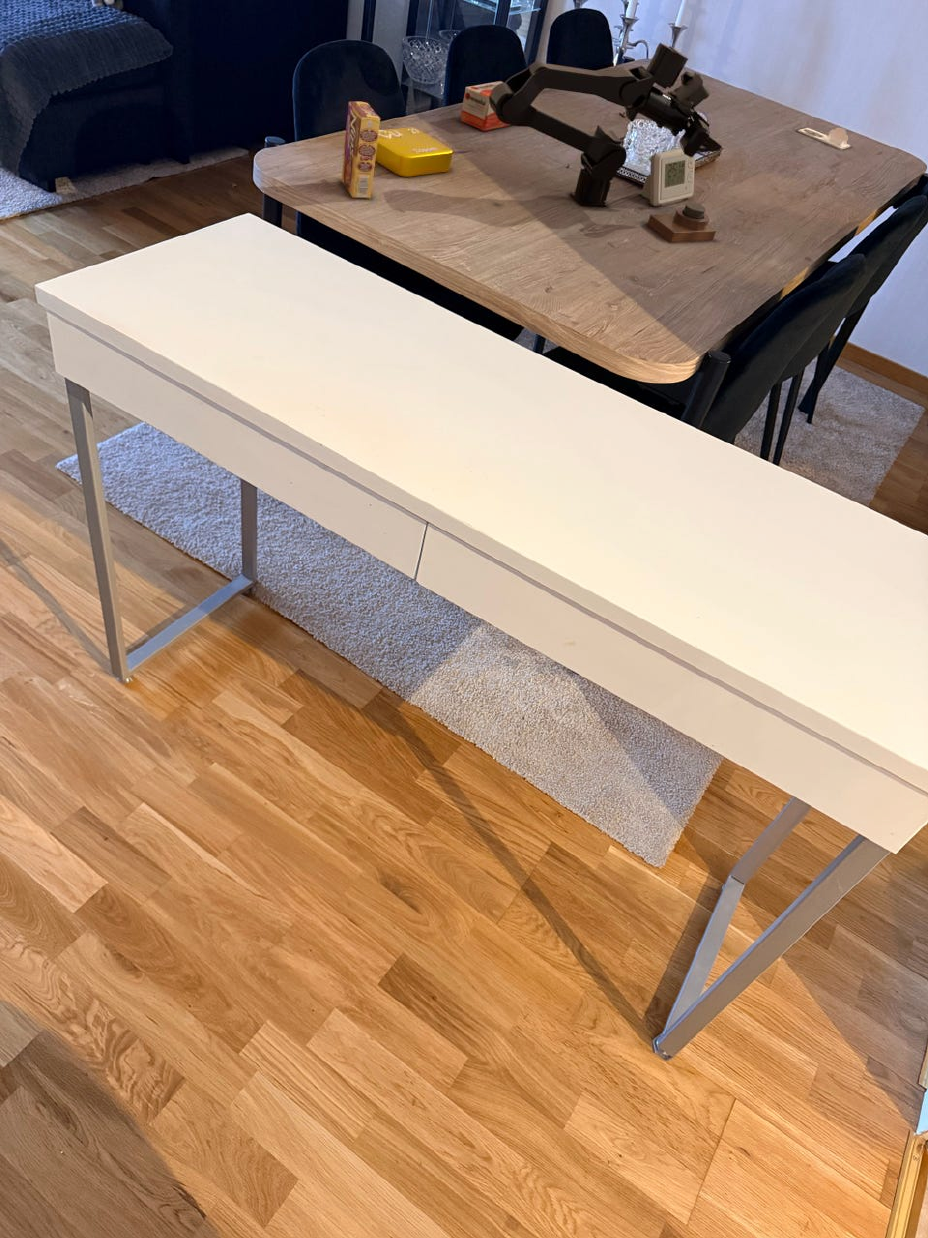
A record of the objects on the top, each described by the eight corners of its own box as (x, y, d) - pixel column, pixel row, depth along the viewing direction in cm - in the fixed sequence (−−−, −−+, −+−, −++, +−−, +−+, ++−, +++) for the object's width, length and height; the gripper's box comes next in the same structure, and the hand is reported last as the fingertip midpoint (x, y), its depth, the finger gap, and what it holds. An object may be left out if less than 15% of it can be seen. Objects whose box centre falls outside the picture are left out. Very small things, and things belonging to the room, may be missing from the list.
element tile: (401, 178, 196) (404, 154, 193) (359, 151, 203) (361, 128, 200) (453, 171, 205) (457, 148, 201) (411, 146, 212) (414, 123, 208)
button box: (670, 242, 198) (677, 223, 195) (647, 224, 203) (652, 206, 200) (712, 240, 203) (719, 222, 200) (688, 222, 208) (694, 204, 205)
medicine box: (494, 113, 240) (500, 79, 234) (518, 124, 237) (525, 90, 232) (458, 121, 230) (464, 86, 225) (484, 132, 228) (490, 97, 222)
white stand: (849, 146, 279) (856, 131, 276) (840, 149, 275) (847, 133, 272) (807, 128, 285) (813, 113, 282) (797, 131, 281) (803, 115, 278)
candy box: (372, 199, 186) (381, 118, 175) (352, 198, 184) (359, 116, 174) (360, 181, 191) (368, 101, 181) (340, 180, 190) (347, 99, 179)
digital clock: (651, 208, 210) (667, 160, 203) (626, 192, 215) (640, 144, 208) (700, 204, 218) (717, 157, 211) (675, 189, 223) (690, 142, 216)
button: (690, 220, 199) (694, 210, 198) (678, 211, 202) (682, 202, 200) (706, 219, 201) (709, 210, 200) (694, 211, 204) (697, 201, 202)
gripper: (695, 92, 184) (752, 124, 191) (671, 49, 195) (726, 81, 202) (661, 142, 192) (717, 172, 199) (640, 98, 202) (693, 128, 210)
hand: (714, 137), depth 202 cm, fingers open, 9 cm apart
